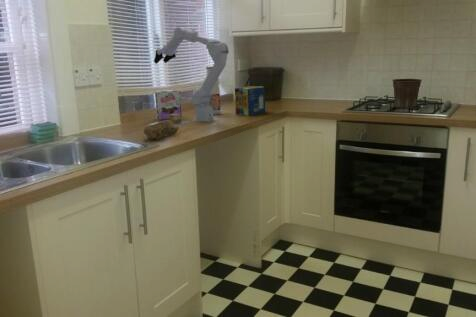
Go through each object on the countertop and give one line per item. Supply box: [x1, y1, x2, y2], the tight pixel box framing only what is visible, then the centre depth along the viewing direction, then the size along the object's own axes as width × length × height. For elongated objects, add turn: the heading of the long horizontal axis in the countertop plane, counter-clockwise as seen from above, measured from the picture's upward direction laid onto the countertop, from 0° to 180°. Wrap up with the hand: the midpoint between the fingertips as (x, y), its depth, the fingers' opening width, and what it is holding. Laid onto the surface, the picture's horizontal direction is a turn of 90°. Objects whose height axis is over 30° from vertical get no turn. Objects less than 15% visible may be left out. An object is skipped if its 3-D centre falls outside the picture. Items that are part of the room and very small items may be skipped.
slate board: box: [145, 120, 191, 127], centre depth 238 cm, size 16×18×1 cm
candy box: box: [154, 89, 183, 120], centre depth 255 cm, size 14×6×16 cm, turn 105°
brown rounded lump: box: [143, 120, 179, 140], centre depth 205 cm, size 13×8×20 cm
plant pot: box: [391, 78, 423, 110], centre depth 262 cm, size 16×16×16 cm
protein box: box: [234, 85, 266, 117], centre depth 264 cm, size 10×15×16 cm
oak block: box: [168, 113, 182, 124], centre depth 239 cm, size 4×4×4 cm
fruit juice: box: [203, 66, 221, 116], centre depth 268 cm, size 9×9×28 cm
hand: (159, 62), depth 251 cm, fingers open, 7 cm apart
